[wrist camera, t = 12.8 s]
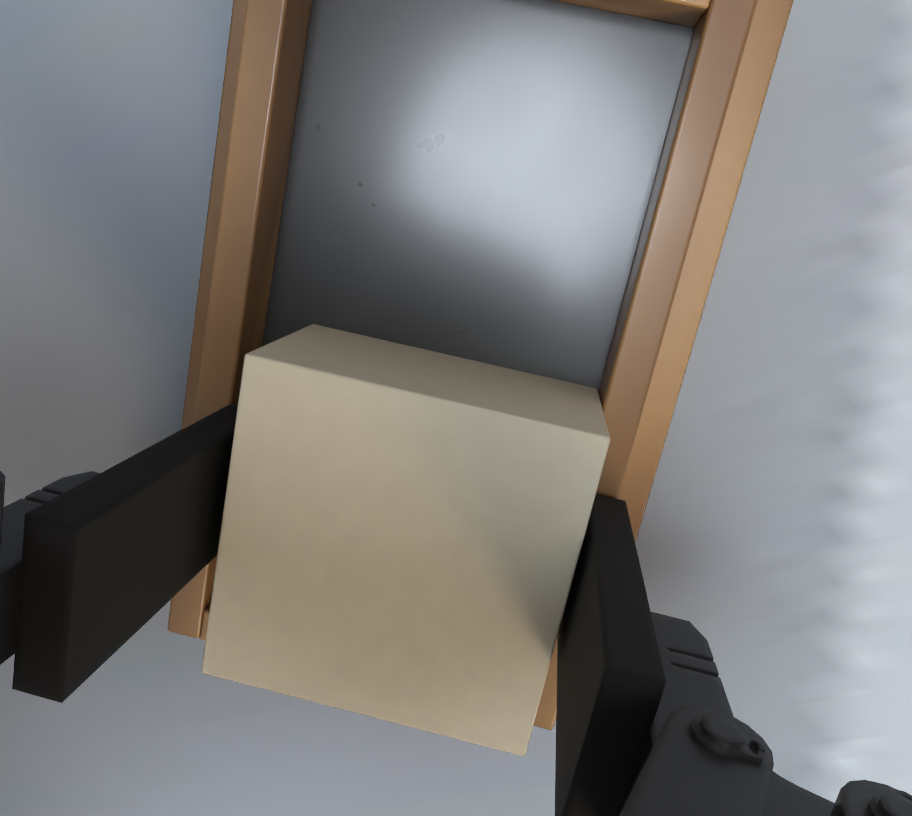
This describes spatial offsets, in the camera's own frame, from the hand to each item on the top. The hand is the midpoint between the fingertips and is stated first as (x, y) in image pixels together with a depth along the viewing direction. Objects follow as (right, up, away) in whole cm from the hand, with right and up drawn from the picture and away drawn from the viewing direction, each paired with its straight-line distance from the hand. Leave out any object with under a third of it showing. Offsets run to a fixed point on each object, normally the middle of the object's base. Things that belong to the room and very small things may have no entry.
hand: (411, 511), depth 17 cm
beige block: (0, 0, +2) cm, 2 cm away
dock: (+1, +4, +2) cm, 4 cm away
